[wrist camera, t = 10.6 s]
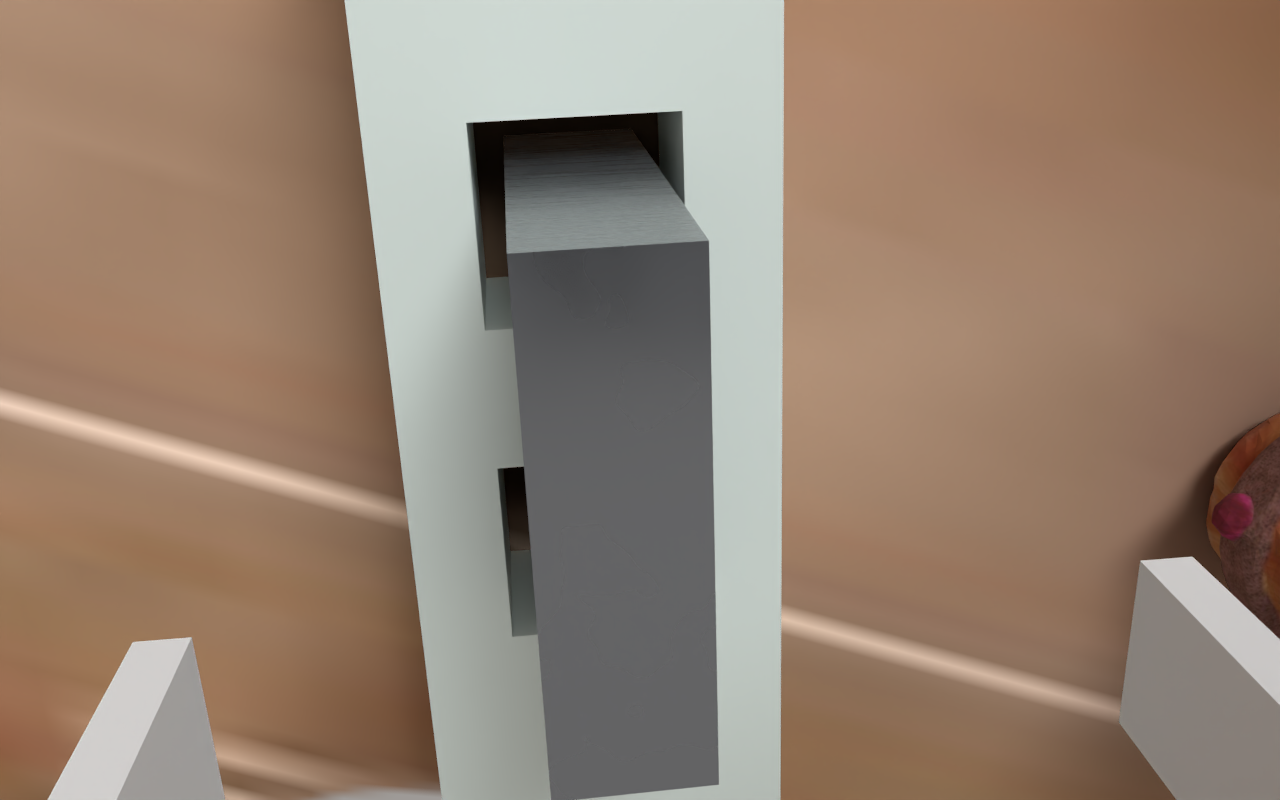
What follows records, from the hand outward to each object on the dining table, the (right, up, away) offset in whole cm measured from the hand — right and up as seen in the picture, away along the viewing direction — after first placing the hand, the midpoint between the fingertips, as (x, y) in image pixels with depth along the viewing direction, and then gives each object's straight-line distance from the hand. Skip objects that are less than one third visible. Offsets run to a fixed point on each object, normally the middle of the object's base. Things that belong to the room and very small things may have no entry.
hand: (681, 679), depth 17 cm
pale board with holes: (-2, +6, +15) cm, 16 cm away
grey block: (-2, +6, +15) cm, 16 cm away
